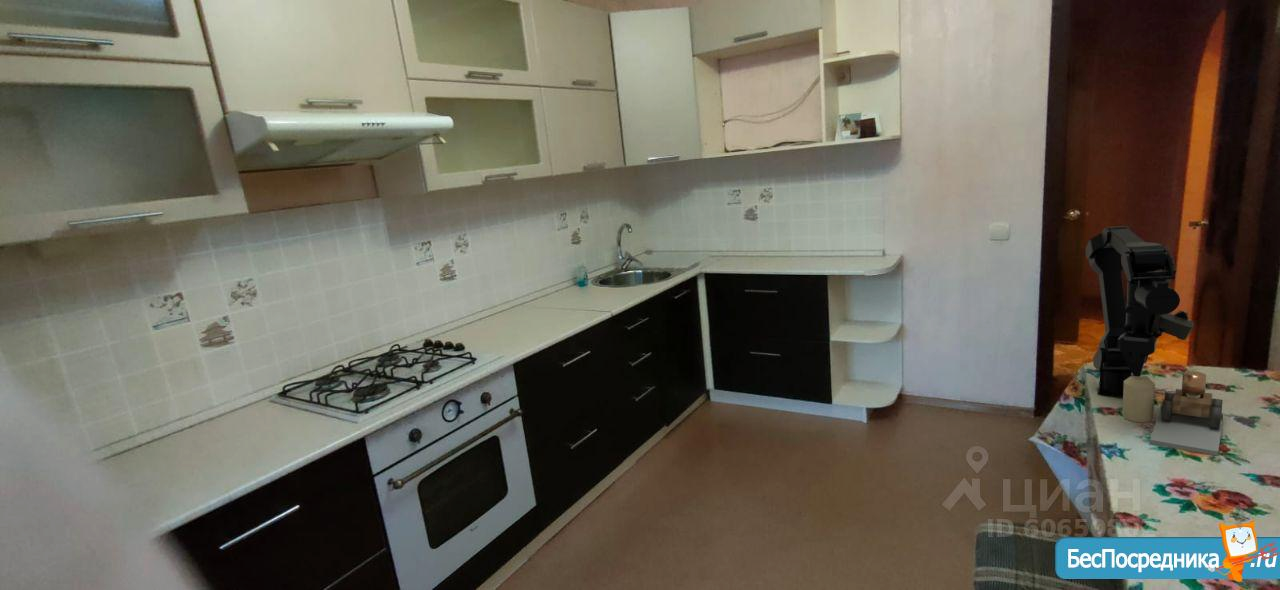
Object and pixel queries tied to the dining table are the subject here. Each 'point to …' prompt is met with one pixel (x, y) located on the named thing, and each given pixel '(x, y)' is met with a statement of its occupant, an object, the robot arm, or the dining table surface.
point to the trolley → (1192, 407)
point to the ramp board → (1187, 434)
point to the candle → (1138, 399)
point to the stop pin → (1193, 383)
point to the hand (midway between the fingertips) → (1139, 369)
